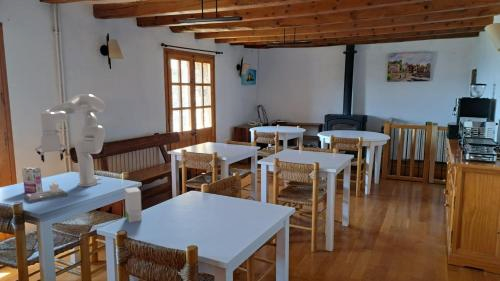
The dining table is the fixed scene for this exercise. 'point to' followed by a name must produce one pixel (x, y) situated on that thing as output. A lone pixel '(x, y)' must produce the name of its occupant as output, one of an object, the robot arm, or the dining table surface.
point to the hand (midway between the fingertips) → (52, 160)
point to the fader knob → (54, 187)
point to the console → (44, 195)
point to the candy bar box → (32, 180)
